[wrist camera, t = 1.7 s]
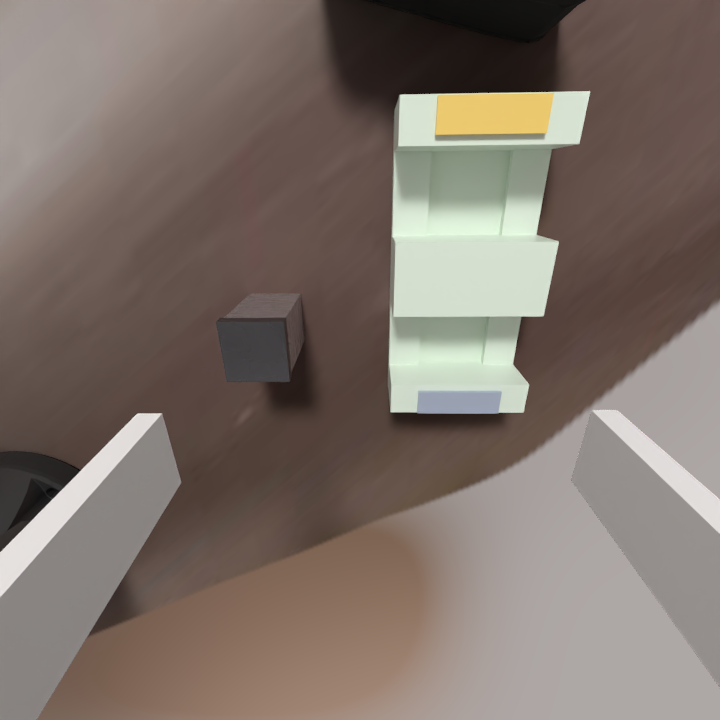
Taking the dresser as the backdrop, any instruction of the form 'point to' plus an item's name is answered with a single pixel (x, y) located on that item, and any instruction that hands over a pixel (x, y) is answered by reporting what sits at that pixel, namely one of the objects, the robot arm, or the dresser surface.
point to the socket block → (470, 243)
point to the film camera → (492, 15)
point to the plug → (262, 338)
